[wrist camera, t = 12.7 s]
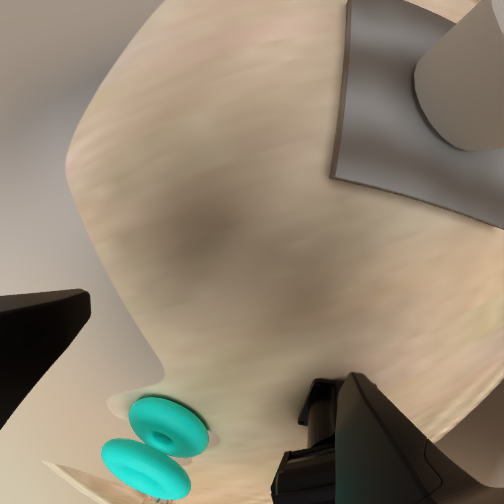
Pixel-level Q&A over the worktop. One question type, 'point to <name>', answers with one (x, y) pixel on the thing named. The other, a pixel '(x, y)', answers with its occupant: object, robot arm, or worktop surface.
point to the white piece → (155, 500)
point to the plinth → (405, 117)
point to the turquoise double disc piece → (157, 448)
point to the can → (467, 80)
